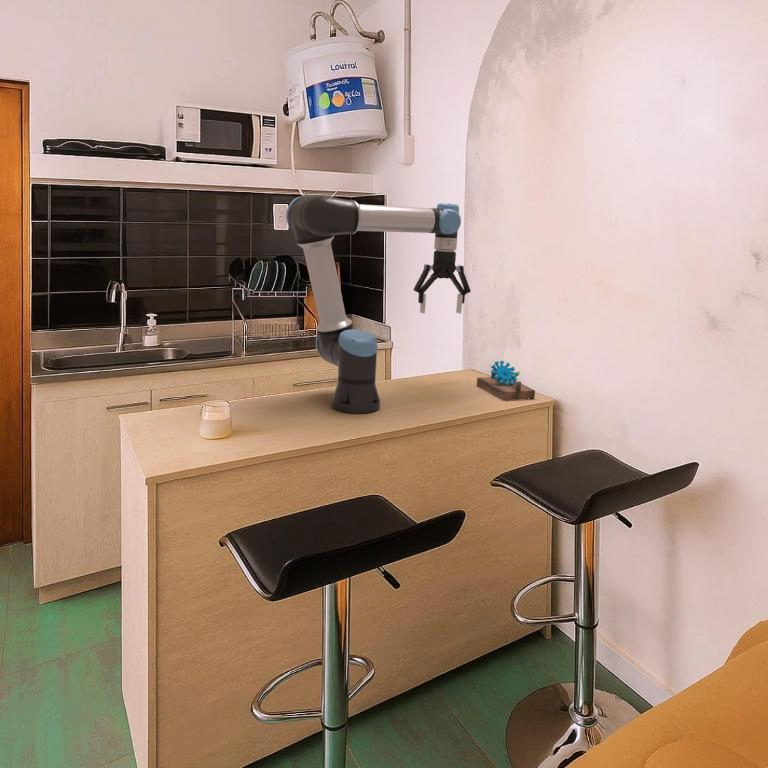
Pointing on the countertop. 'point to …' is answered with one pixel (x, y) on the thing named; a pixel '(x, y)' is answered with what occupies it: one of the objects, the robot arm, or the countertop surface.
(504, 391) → the stand
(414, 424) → the countertop surface
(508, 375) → the blue spiky virus toy
